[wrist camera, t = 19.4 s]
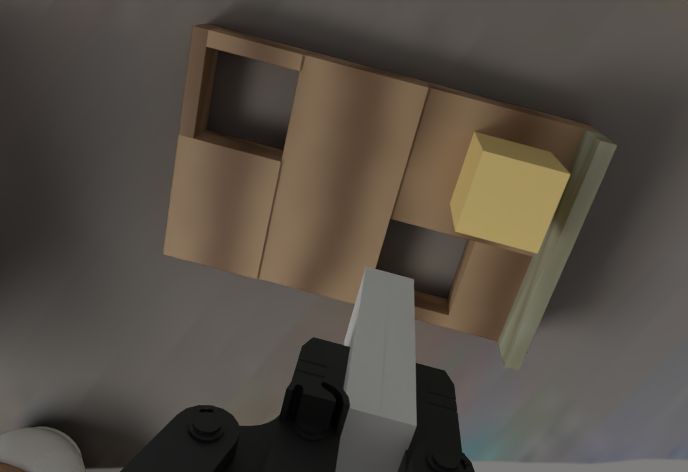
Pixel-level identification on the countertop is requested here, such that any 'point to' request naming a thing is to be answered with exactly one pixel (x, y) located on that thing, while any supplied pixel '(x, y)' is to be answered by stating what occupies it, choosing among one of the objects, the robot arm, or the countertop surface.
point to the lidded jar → (39, 451)
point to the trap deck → (368, 186)
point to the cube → (507, 192)
